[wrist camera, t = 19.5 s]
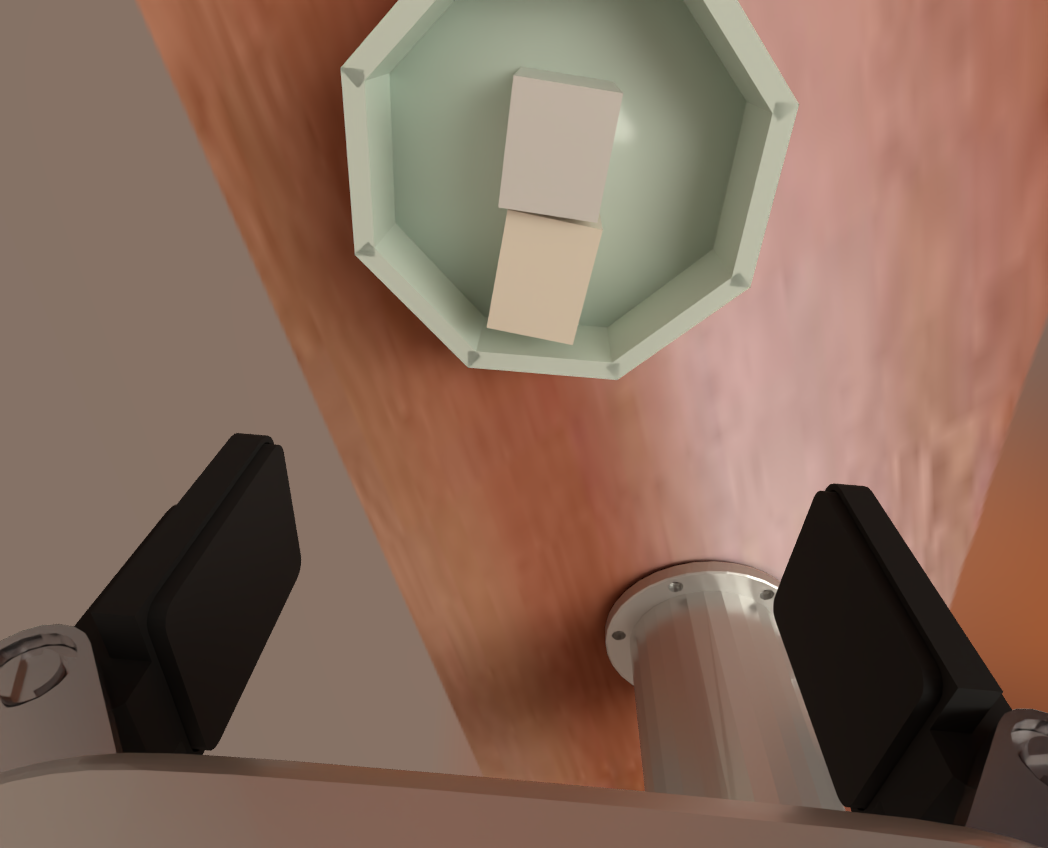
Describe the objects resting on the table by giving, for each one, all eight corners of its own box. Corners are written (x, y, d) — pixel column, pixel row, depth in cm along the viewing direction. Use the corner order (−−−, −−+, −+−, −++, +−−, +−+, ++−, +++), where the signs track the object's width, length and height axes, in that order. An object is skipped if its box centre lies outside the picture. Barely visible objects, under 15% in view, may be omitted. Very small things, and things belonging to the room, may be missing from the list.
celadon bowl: (798, -51, 23) (844, -66, 19) (703, 344, 31) (723, 388, 28) (365, -85, 23) (326, -106, 19) (386, 318, 31) (362, 359, 28)
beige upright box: (602, 230, 24) (572, 345, 26) (597, 202, 27) (571, 306, 30) (507, 209, 23) (486, 327, 26) (515, 184, 27) (495, 291, 30)
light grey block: (613, 81, 25) (623, 93, 21) (592, 192, 27) (597, 222, 23) (521, 66, 25) (513, 75, 21) (508, 179, 27) (498, 207, 23)
